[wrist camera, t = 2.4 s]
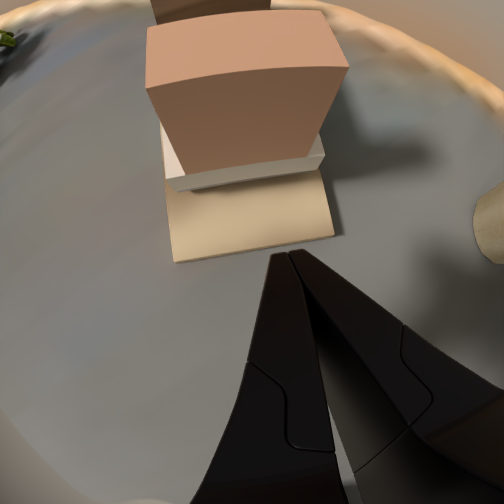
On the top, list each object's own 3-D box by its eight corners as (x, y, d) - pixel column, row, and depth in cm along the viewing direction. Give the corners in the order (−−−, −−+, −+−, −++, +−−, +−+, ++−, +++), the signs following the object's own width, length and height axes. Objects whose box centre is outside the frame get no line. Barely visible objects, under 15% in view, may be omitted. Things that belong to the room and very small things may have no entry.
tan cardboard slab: (330, 237, 20) (368, 213, 13) (177, 263, 19) (146, 250, 13) (263, 9, 22) (268, -41, 16) (160, 23, 22) (147, -26, 15)
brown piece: (309, 182, 19) (377, 68, 8) (181, 202, 18) (113, 97, 7) (276, 64, 20) (295, -56, 9) (170, 79, 19) (135, -39, 8)
